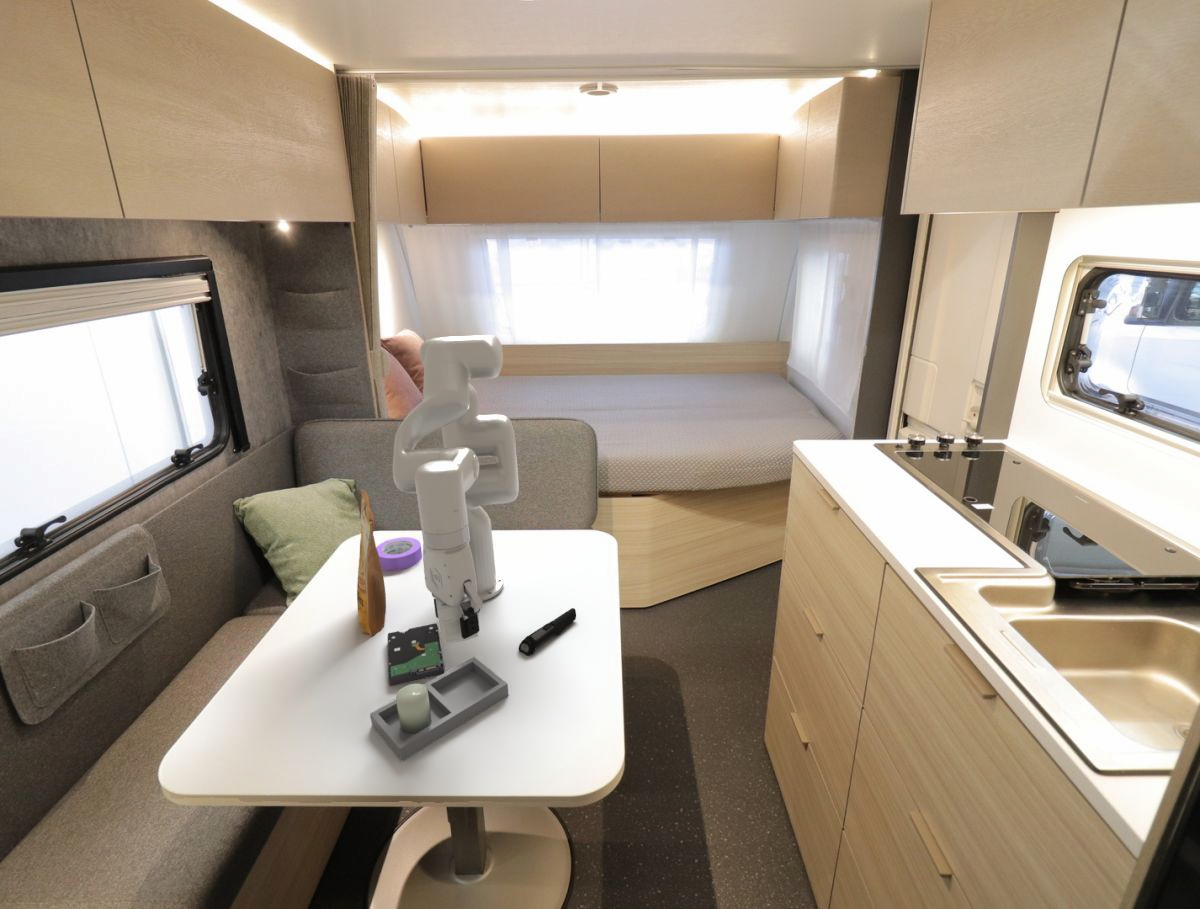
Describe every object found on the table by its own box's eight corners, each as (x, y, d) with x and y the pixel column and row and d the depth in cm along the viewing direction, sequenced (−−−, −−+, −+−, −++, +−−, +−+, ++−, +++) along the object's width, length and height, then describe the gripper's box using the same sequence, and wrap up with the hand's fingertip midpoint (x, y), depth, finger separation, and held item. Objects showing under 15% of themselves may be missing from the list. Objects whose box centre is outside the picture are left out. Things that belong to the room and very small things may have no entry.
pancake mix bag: (392, 591, 146) (375, 483, 137) (392, 637, 129) (372, 517, 120) (363, 596, 144) (343, 488, 135) (359, 643, 127) (336, 522, 118)
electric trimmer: (581, 623, 133) (580, 610, 132) (530, 658, 121) (529, 644, 120) (568, 617, 135) (567, 604, 134) (517, 651, 124) (516, 638, 123)
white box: (478, 637, 105) (474, 600, 103) (442, 646, 103) (437, 608, 101) (472, 618, 110) (468, 583, 108) (438, 626, 109) (433, 590, 106)
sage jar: (395, 722, 105) (390, 694, 103) (422, 707, 108) (418, 679, 106) (409, 738, 101) (404, 709, 99) (437, 722, 105) (433, 693, 103)
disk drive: (388, 644, 128) (390, 689, 114) (386, 633, 127) (388, 677, 113) (438, 633, 131) (446, 675, 118) (437, 622, 130) (444, 663, 117)
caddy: (402, 761, 98) (399, 748, 97) (372, 725, 105) (369, 713, 104) (508, 695, 111) (507, 683, 110) (475, 667, 119) (474, 656, 118)
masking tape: (429, 550, 166) (427, 537, 165) (411, 571, 155) (409, 558, 154) (388, 548, 168) (386, 536, 166) (368, 570, 157) (366, 557, 156)
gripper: (400, 526, 104) (413, 614, 110) (454, 560, 92) (466, 656, 98) (439, 512, 109) (450, 597, 115) (495, 543, 97) (504, 636, 103)
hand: (457, 624), depth 106 cm, fingers closed on white box, 7 cm apart
